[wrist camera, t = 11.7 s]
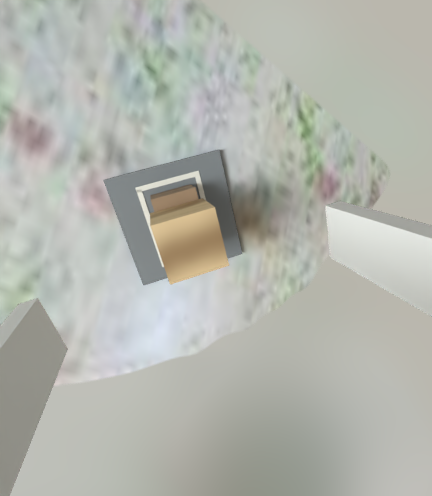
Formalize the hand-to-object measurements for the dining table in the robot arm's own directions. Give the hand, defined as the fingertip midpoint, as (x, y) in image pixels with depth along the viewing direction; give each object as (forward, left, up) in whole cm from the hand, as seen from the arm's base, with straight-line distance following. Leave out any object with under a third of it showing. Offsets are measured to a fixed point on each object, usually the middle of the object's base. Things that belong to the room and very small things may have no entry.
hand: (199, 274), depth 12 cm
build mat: (+3, +1, -24) cm, 24 cm away
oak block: (+3, +1, -19) cm, 19 cm away
